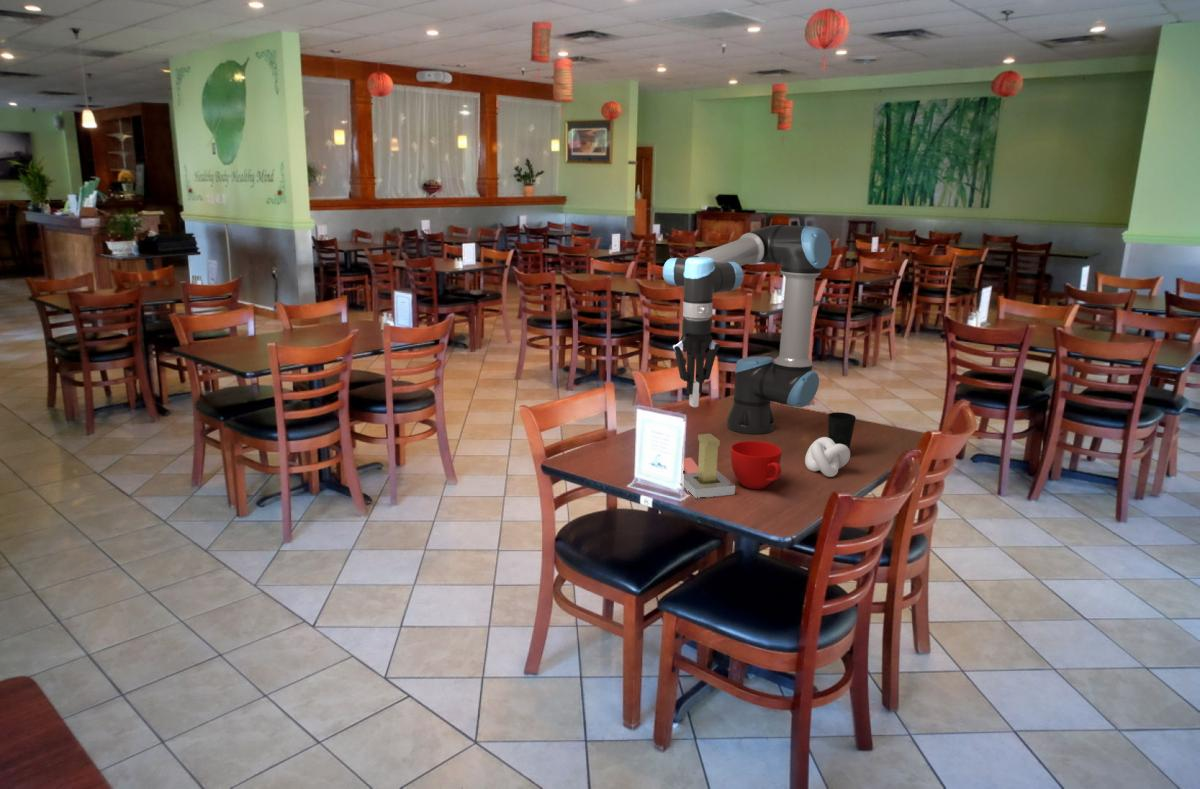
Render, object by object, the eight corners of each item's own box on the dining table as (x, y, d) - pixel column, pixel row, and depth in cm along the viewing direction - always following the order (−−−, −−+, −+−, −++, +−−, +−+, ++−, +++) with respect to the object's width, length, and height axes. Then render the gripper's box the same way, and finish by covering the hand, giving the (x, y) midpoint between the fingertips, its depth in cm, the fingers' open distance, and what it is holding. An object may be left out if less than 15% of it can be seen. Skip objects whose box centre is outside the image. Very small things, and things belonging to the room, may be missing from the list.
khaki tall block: (695, 485, 213) (697, 434, 209) (708, 484, 214) (710, 433, 210) (704, 493, 207) (707, 441, 204) (717, 492, 208) (720, 440, 205)
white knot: (841, 483, 216) (844, 451, 213) (796, 475, 221) (799, 444, 219) (850, 470, 225) (854, 440, 223) (808, 463, 231) (810, 433, 229)
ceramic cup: (755, 502, 202) (758, 464, 200) (719, 479, 217) (721, 444, 214) (798, 495, 207) (801, 458, 205) (760, 473, 222) (762, 438, 220)
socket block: (678, 483, 214) (679, 474, 213) (716, 479, 217) (717, 470, 216) (694, 498, 204) (695, 489, 203) (734, 494, 207) (735, 485, 206)
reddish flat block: (676, 463, 224) (676, 457, 223) (691, 461, 225) (692, 456, 224) (689, 481, 215) (690, 475, 214) (705, 480, 216) (706, 474, 216)
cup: (853, 460, 233) (857, 420, 230) (825, 458, 235) (829, 418, 232) (850, 451, 241) (854, 413, 237) (824, 449, 242) (827, 411, 239)
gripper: (679, 321, 204) (676, 411, 211) (726, 319, 208) (722, 407, 214) (668, 316, 211) (665, 403, 217) (714, 314, 215) (710, 400, 221)
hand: (693, 405), depth 216 cm, fingers closed
